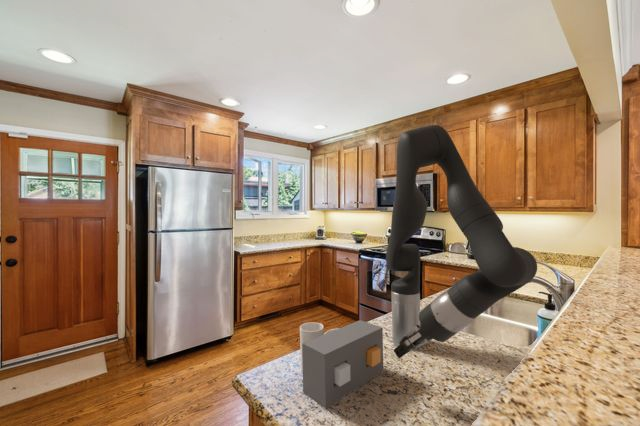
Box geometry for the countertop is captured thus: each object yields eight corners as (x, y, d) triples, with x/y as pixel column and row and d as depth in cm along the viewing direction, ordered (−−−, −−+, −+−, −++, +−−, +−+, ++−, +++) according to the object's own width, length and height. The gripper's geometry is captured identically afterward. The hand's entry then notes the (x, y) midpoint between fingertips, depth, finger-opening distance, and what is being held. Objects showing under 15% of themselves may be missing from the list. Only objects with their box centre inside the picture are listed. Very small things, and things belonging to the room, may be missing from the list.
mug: (328, 372, 78) (327, 328, 78) (305, 378, 75) (304, 333, 75) (314, 356, 87) (313, 317, 87) (293, 361, 84) (292, 320, 84)
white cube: (339, 374, 69) (339, 359, 69) (350, 380, 67) (350, 364, 67) (329, 380, 67) (328, 364, 67) (339, 386, 64) (339, 370, 64)
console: (360, 360, 84) (359, 320, 84) (383, 371, 78) (382, 327, 78) (303, 392, 69) (302, 343, 69) (325, 408, 63) (324, 354, 63)
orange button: (370, 357, 77) (369, 344, 77) (380, 362, 75) (380, 348, 75) (361, 362, 75) (361, 348, 75) (372, 367, 72) (372, 352, 72)
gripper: (447, 294, 66) (402, 331, 75) (419, 306, 58) (371, 347, 66) (472, 322, 62) (421, 358, 71) (446, 340, 54) (391, 379, 62)
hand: (397, 353), depth 69 cm, fingers closed
